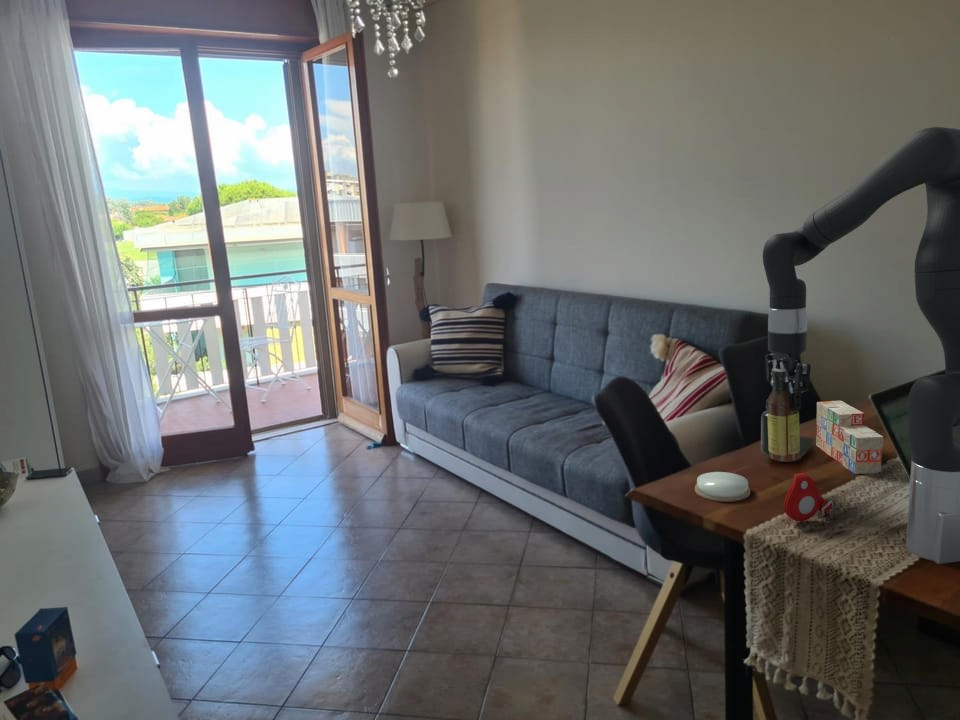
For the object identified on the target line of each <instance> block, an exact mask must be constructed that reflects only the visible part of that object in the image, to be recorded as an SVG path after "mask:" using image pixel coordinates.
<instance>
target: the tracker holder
mask: <svg viewBox="0 0 960 720" xmlns="http://www.w3.org/2000/svg"><path fill="white" fill-rule="evenodd" d="M793 476H794V478H793V481H792V483H791V486H790V487H789V488H788V491H787V494H786V496H785V499H784V502H783V510H784V513H785V514H786V516H787V517H788V518H790V519H791V520H793V521H795V522H806V521H808V520H810V519H811V518H813V517H814V516H815V515H816V514H817V512H818V511H819V512H821V516H823V517H825V516H828V515H829V514H832V510H833V509H834V502H833V500H831V499H830V500H827V499H824V496H822V495H821V494H820V491H819V489H818V487H817V485H816V482H815V481H814V479H813V478H812V477H811V476H809V475H808V474H806V473H805V472H801V473H794V475H793ZM824 515H825V516H824Z"/></svg>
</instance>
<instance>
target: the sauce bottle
mask: <svg viewBox="0 0 960 720" xmlns="http://www.w3.org/2000/svg"><path fill="white" fill-rule="evenodd" d="M771 372H772V376H773V386H772V390H771V392H770V394H769V396H768V398H767V399H768V447H769V455H768V456H769V458H770V459H772V461H773V460H774V461H776V462H784V463H789V462H790V463H791V462H796V461H797V460H799V458H800V451H801V450H800V449H801V446H800V444H801V443H800V412H799V411H800V410H795V411H792V410H790V409H789V393H790V391H789V386H788V384H787V383H786V382H785V379H784V371H782V370H781V369H780V368H777V369H776V368H774V369H772V370H771ZM790 378H793V377H790Z"/></svg>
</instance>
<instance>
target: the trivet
mask: <svg viewBox="0 0 960 720" xmlns="http://www.w3.org/2000/svg"><path fill="white" fill-rule="evenodd" d="M694 492H695V494H696V495H698V496H700V497H702V498H703V499H706V500H710V501H714V502H722V503H723V502H725V503H726V502H727V503H729V502H730V503H731V502H739V501H743V500H745V499H747V498H748V497H750V496H751V488H750V487H749V481H748V479H747V478H745V477H744V476H742V475H740V474H738V473H737V474H736V473H734V472H732V473H731V472H726V471H725V472H724V471H712V472H706V473H702V474H700V475H698V477H697V479H696V483H695V486H694Z"/></svg>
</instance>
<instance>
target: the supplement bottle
mask: <svg viewBox="0 0 960 720" xmlns="http://www.w3.org/2000/svg"><path fill="white" fill-rule="evenodd" d="M765 409H766V410H765V411H763V412H762V414H761V415H760V416H761V417H760V419H761V420H760V451H761V452H762V453H763V454H764V455H767V456H769V447H768V398H767V399H766V403H765Z"/></svg>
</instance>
